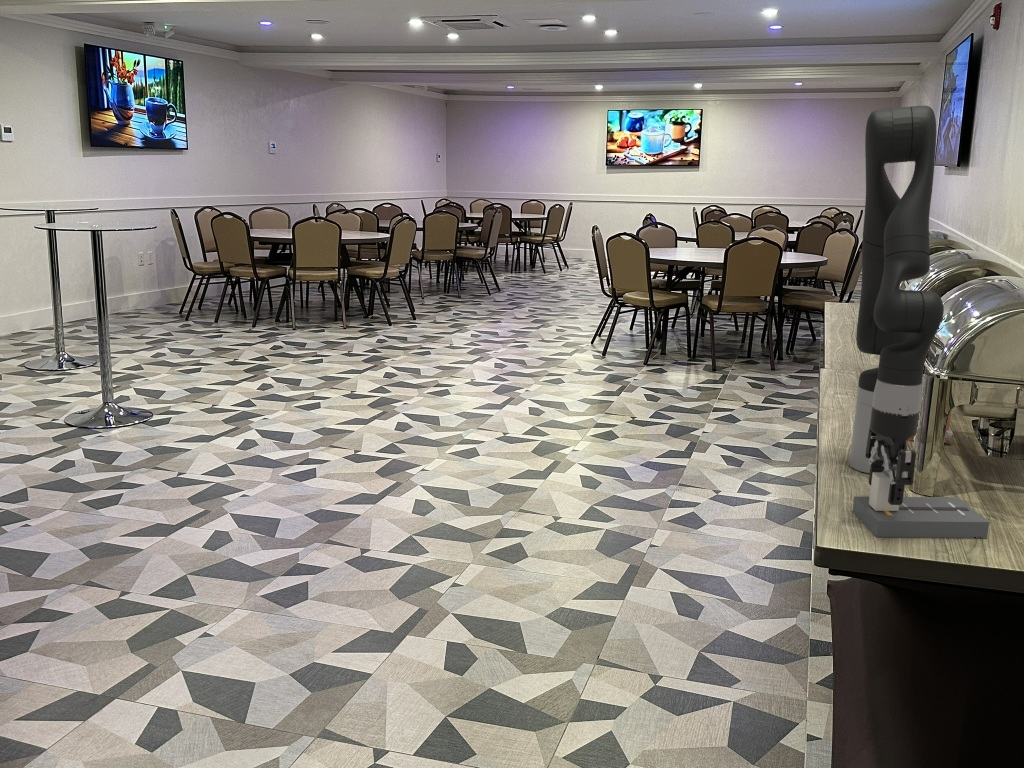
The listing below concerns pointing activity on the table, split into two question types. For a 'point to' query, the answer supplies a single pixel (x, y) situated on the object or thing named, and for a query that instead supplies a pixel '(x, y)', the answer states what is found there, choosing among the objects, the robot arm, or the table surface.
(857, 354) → the table surface
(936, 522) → the console
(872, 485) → the fader
